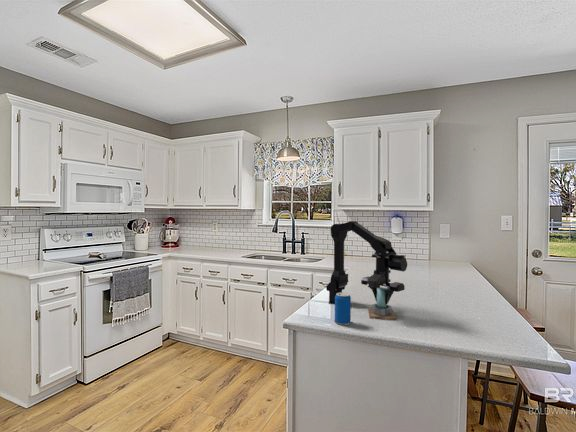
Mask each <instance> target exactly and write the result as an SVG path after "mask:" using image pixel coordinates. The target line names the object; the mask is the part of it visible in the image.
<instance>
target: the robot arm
mask: <svg viewBox="0 0 576 432" xmlns="http://www.w3.org/2000/svg"><path fill="white" fill-rule="evenodd" d="M351 231H352V232H353V233H355V235H358V236H359V237H360V238H362V240H364V241H366V242H367V243H368V244H369V245H370V247H371V248H372V250H373V251H374V253H373V254H371V257H372V258H375V269H374V270H373V274H371V276H365V277H362V278H361V280H360V281H361V282H360V283H361V285H364V286H367V287H368V288H369V289H370V290H371V291H372V293H373V296H374V299H375V302H376V303H377V288H378V287H384V288H387V289H385V290H384V291H385V293H386V294H385V304H387V305H389V302H390V299H391V298H392V296H393V294H394V292H396V293H397V292H401V291H405V289H406V288H405V285H404V283H402V282H398V281H394V282H391V279H390V274H392V273H391V271H392V270H393V271H397V272H405V271H407V268H408V261H407V259H406V256H405V255H404V254H401V255H400V254H397V252H396V251H395V249H394V248H393V246H392V241H390V240H388V239H387V238H385V237H382V236H379V235H376V234H374V233H373V232H371V231H370V230H369V229H368V228H366V227H364V226H363V225H361V224H360V223H359V222H358V221H356V220H349V221H347V222H343V223H333V224H332V225H331V226H330V236H331V238H332V240H333V254H334V255H333V271H332V273H331V275H330V280H329V281H330V282H329V283H328V284H327V285H326V286H325V289H326V291H327V292H329V293H328V295H329V296H328V297H329V298H328V304H330V303H333V304H334V305H335V296H336V293H340V292H343V291H344V290H345V288H346V286H347V285H348V283H349V274H348V273H346V272H345V240H346V239H347V237H348V232H351Z"/></svg>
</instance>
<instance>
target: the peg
mask: <svg viewBox="0 0 576 432" xmlns="http://www.w3.org/2000/svg"><path fill="white" fill-rule="evenodd" d="M385 289H387V287H384V286H380V287H378V288H377V302H376V304H377V308H387V305H388V304H385V294H386V293H385V291H384V290H385Z"/></svg>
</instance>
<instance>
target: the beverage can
mask: <svg viewBox="0 0 576 432" xmlns="http://www.w3.org/2000/svg"><path fill="white" fill-rule="evenodd" d="M351 302H352V298H351V294H350V293H349V292H343V291H342V292H340V293H336V296H335V304H334V322H335V323H336V324H337V325H340V326H347V325H349V324H350V323H351V317H352V316H351V314H352V312H351V307H352V306H351V305H352V303H351Z"/></svg>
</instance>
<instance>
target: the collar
mask: <svg viewBox="0 0 576 432" xmlns="http://www.w3.org/2000/svg"><path fill="white" fill-rule="evenodd" d="M371 309H372V313H373V314H375V315H378V316H390V315H392V310H393V307H392V305H390V304H387V308H377V303H373V304H372V305H371Z"/></svg>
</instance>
